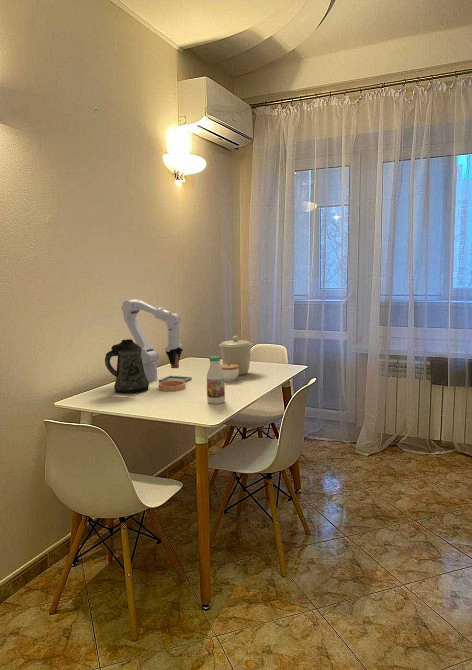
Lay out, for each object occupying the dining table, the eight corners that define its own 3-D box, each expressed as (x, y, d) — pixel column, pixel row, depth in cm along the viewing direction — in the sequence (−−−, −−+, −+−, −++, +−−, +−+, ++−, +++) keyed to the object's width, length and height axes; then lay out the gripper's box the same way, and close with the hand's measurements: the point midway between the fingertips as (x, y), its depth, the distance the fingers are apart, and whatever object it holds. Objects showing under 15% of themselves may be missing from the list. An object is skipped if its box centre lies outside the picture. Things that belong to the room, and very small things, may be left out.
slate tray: (159, 383, 265) (158, 379, 264) (169, 379, 275) (169, 375, 274) (181, 385, 260) (181, 381, 259) (191, 380, 270) (191, 377, 269)
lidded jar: (237, 382, 262) (236, 364, 261) (216, 382, 264) (216, 364, 263) (241, 378, 273) (240, 360, 271) (221, 378, 275) (220, 360, 274)
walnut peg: (169, 368, 265) (169, 354, 264) (173, 366, 269) (173, 353, 268) (176, 368, 263) (175, 354, 263) (180, 367, 267) (179, 353, 266)
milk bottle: (207, 400, 229) (205, 355, 226) (224, 399, 230) (223, 354, 227) (207, 404, 221) (206, 358, 219) (225, 403, 222) (224, 357, 219)
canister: (247, 377, 274) (246, 338, 271) (215, 376, 280) (214, 337, 277) (256, 371, 291) (256, 334, 288) (226, 369, 297) (225, 333, 294)
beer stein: (156, 389, 253) (153, 338, 249) (128, 398, 236) (126, 343, 233) (130, 386, 261) (128, 336, 258) (102, 394, 244) (99, 342, 241)
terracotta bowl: (153, 391, 249) (153, 385, 248) (167, 385, 260) (167, 379, 260) (177, 392, 244) (177, 387, 243) (189, 387, 255) (189, 381, 255)
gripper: (173, 339, 256) (174, 366, 258) (187, 335, 269) (188, 361, 271) (161, 338, 259) (162, 365, 260) (175, 335, 272) (176, 360, 274)
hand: (174, 363), depth 266 cm, fingers closed on walnut peg, 4 cm apart
